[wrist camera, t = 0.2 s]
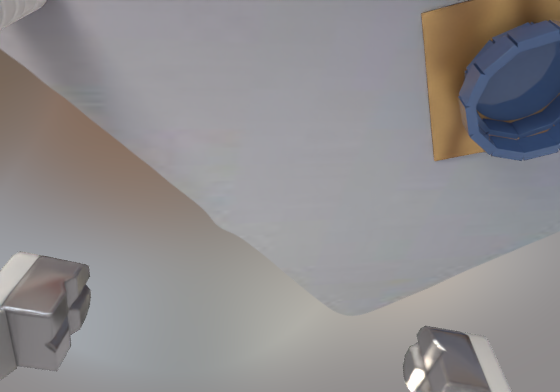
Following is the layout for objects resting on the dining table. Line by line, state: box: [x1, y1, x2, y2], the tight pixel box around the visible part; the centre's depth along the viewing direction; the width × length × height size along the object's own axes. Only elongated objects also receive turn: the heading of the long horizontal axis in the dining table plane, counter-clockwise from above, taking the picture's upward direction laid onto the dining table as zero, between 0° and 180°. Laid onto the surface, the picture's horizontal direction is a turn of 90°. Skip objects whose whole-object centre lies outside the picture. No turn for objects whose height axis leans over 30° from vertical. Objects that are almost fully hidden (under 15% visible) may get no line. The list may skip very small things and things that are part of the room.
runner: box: [421, 0, 560, 161], centre depth 45 cm, size 18×18×1 cm
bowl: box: [458, 20, 560, 161], centre depth 43 cm, size 13×13×6 cm
